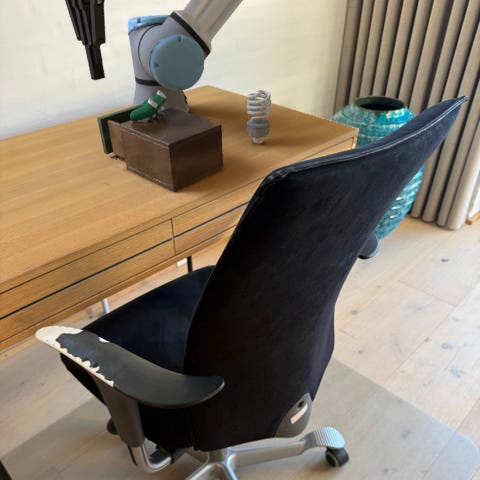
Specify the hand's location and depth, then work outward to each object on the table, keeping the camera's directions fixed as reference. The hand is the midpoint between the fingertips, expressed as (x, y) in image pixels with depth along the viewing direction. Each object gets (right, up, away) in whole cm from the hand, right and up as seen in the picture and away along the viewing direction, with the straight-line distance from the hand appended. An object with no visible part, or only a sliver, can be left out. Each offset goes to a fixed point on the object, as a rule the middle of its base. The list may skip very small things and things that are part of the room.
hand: (98, 78), depth 107 cm
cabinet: (+18, -21, -3) cm, 28 cm away
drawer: (+9, -15, +3) cm, 18 cm away
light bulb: (+36, -12, +8) cm, 39 cm away
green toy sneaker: (+13, -11, -5) cm, 18 cm away
